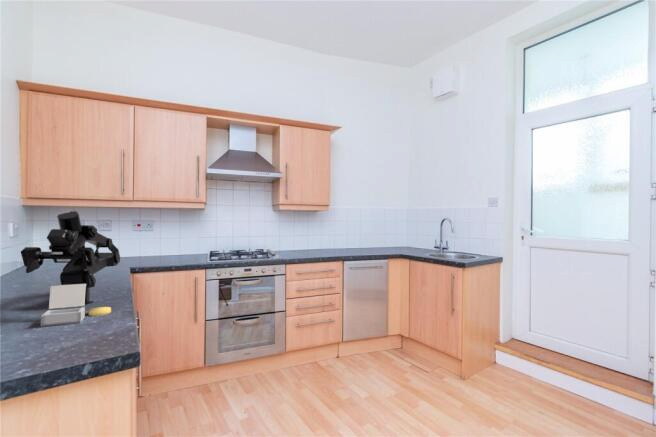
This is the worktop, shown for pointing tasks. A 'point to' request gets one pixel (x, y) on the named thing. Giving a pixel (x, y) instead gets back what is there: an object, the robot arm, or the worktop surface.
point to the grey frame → (62, 317)
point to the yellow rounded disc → (99, 311)
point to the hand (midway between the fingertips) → (45, 271)
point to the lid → (67, 296)
